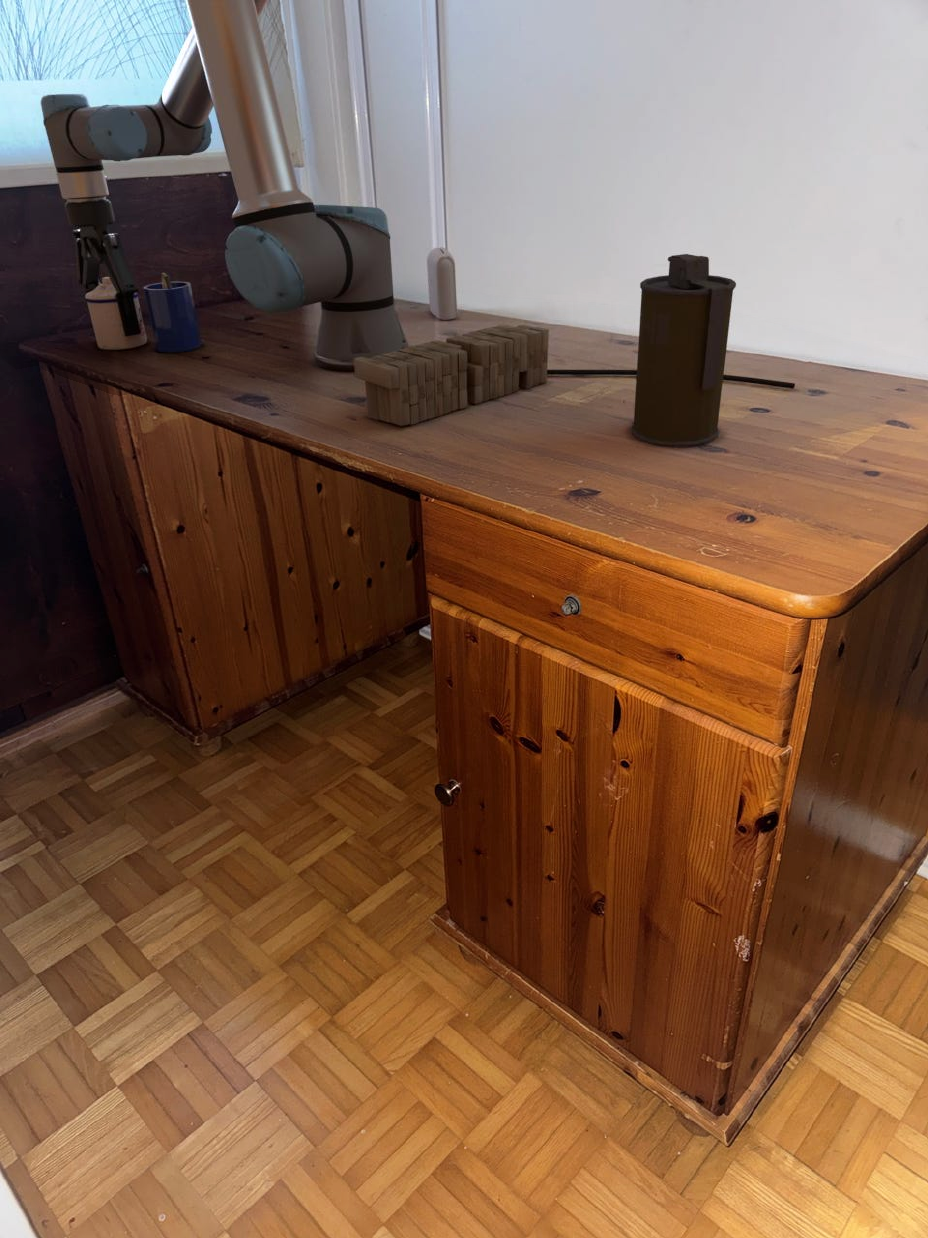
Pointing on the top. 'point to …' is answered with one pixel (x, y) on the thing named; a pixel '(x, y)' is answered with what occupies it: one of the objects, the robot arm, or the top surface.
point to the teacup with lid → (112, 319)
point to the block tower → (453, 372)
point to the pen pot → (173, 317)
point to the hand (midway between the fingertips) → (117, 330)
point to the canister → (681, 354)
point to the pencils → (166, 281)
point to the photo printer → (442, 284)
